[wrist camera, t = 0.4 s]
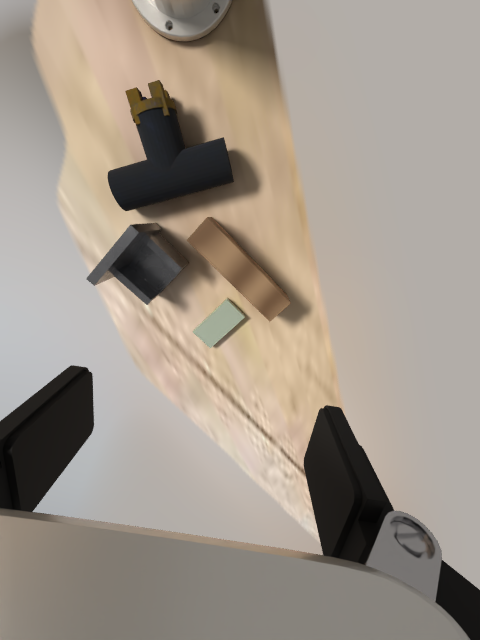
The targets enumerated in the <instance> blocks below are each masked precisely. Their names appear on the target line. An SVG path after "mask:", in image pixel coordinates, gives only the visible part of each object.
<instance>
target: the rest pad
mask: <svg viewBox="0 0 480 640" xmlns="http://www.w3.org/2000/svg"><path fill="white" fill-rule="evenodd" d="M244 318H245V314H244V313H243V312H241V311H240V310H239V309H238V308H237V307H236V306H235V305H234V304H233V303H232V302H231V301H230V300H229V299H228V298H227V299H226V300H225V301H224V302H223V303H222V304H221V305H220V306H219V307H218V308H217V309H215V310H214V311H213V312H212V313H211V314H210V315H209V316H208V317H207V318H206V319H205V320H204V321H203V322H202V323H201V324H200V325H199V326H198V327H196V328H195V329H194V331H193V333H194V334H195V335H196V336H197V337H199V338H200V339H201V340H202V341H203V342H204V343H205V344H206V345H207V346H209V347H210V348H211V347H212V346H214V345H215V344H216V343H217V342H218V341H219V340H220V339H221V338H222V337H224V336H225V335H226V334H227V333H228V332H229V331H230V330H231V329H232V328H234V327H235V326H236V325H237V324H238V323H239V322H240V321H241V320H242V319H244Z"/></svg>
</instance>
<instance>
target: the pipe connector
mask: <svg viewBox="0 0 480 640" xmlns="http://www.w3.org/2000/svg"><path fill="white" fill-rule="evenodd" d="M148 86H149V90H150V93H151V96H152V98H149V99H147V98H146V97H142V94H141V92H140V91H139V90H138V88H137V87H136V88H133V89H130V90H127V91H126V95H127V98H128V101H129V104H130V107H131V115H132V118H133V121H134V123H136V126H137V129H138V132H139V135H140V139H141V142H142V145H143V148H144V151H145V154H146V157H147V160H145V161H141V162H138V163H134V164H131V165H127V166H124V167H121V168H117V169H114V170H110V171H109V172H108V182H109V186H110V189H111V192H112V194H113V196H114V198H115V200H116V201H117V203H118V204H119V206H120V207H121V208H122V209H123V210H125V211H129V210H133V209H136V208H140V207H144V206H147V205H151V204H155V203H158V202H162V201H166V200H169V199H173V198H177V197H180V196H184V195H188V194H191V193H195V192H199V191H202V190H206V189H210V188H213V187H217V186H221V185H224V184H228V183H232V182H234V180H233V175H232V170H231V166H230V161H229V157H228V152H227V148H226V144H225V140H224V137H223V138H220V139H216V140H213V141H209V142H206V143H203V144H199V145H196V146H192V147H189V148H186V149H185V145H184V142H183V138H182V134H181V131H180V127H179V123H178V119H177V116H176V114H177V111H176V107H175V104H174V101H173V100H172V99H170V96H169V94H168V92H167V91H166V90H164V88H163V85H162V83H161V82H160V81H159V80H158V81H155V82H152V83H148Z"/></svg>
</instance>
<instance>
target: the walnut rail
mask: <svg viewBox="0 0 480 640" xmlns="http://www.w3.org/2000/svg"><path fill="white" fill-rule="evenodd" d="M187 241H188V242H189V243H190V244H191V245H192V246H193V247H194V248H195V249H196V250H197V251H198V252H199V253H200V254H201V255H202V256H203V257H204V258H205V259H206V260H207V261H208V262H209V263H210V264H211V265H212V266H213V267H214V268H215V269H217V270H218V271H219V272H220V273H221V274H222V275H223V276H224V277H225V278H226V279H227V280H228V281H229V282H230V283H231V284H232V285H233V286H234V287H235V288H236V289H237V290H238V291H239V292H240V293H241V294H242V295H243V296H244V297H245V298H246V299H247V300H248V301H249V302H250V303H251V304H252V305H253V306H254V307H255V308H256V309H257V310H259V311H260V312H261V313H262V314H263V315H264V316H265V317H266V318H267V319H268V320H269V321H271V320H272V319H274V318H275V317H276V316H277V315H278V314H279V313H280V312H281V311H283V310H284V309H285V308H286V307H287V306H288V305H289V304H290V303H291V302H290V300H289V298H288V296H287V294H286V293H285V292H284V291H283V290H282V289H281V288H280V287H279V286H278V285H277V284H276V283H275V282H274V281H273V280H272V279H271V278H270V277H269V276H268V275H267V274H266V272H265V271H264V270H263V269H262V268H261V267H260V266H259V265H258V264H257V263H256V262H255V261H254V260H253V259H252V258H251V257H250V256H249V255H248V254H247V253H246V252H245V251H244V250H243V249H242V248H241V247H240V246H239V245H238V244H237V243H236V242H235V240H234V239H233V238H232V237H231V236H230V235H229V234H228V233H227V232H226V231H225V230H224V229H223V228H222V227H221V226H220V225H219V224H218V223H217V222H216V221H215V220H214V219H213V218H212V217H207V218H206V219H205V220H204V222H203V223H202V224H201V225H200V226H199V227H198V228H197V229H196V231H195V232H194V233H193V234H192V235H191V236H190V237H189V238H188V240H187Z"/></svg>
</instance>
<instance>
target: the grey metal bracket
mask: <svg viewBox="0 0 480 640" xmlns="http://www.w3.org/2000/svg"><path fill="white" fill-rule="evenodd" d="M161 230H162V228H161V227H159V226H158V225H157V224H156V223H147V224H134V225H130V226H129V227H128V228H127V230H126V231H125V232H124V233H123V235H122V236H121V237H120V238H119V239H118V241H117V242H116V243H115V244H114V246H113V247H112V248H111V249H110V250H109V252H108V253H107V254H106V255H105V257H104V258H103V259H102V260H101V261H100V263H99V264H98V265H97V266H96V268H95V269H94V270H93V271H92V272H91V274H90V275H89V276H88V277H87V280H88V281H89V282H91V283H92V284H93V285H94V286H95V285H97V284H99V283H101V282H104V281H106V280H108V279H110V278H112V277H116V278H117V279H118V280H119V281H120V282H121V283H123V284H124V285H125V286H126V287H127V288H128V289H129V290H131V291H132V292H133V293H134V294H135V295H136V296H137V297H138V298H140V299H141V300H142V301H143V302H144V303H145V304H146V305H148V304H149V303H150V302H151V301H152V300H153V299H155V298H156V297H157V296H158V295H159V294H160V293H161V292H162V291H163V290H164V289H165V288H166V286H167V285H168V284H169V283H170V282H171V281H172V280H173V279H174V278H175V277H176V276H177V275H178V274H179V273H180V272H181V271H182V270H183V269H184V267H185V266H186V265H187V264H188V263H189V262H188V261H187V260H186V259H185V258H184V257H183V256H182V255H181V254H180V253H179V252H178V251H177V250H176V249H175V248H174V247H173V246H172V245H171V244H170V243H169V242H168V241H167V240H166V239H165V238H164V237H163V236H162V235H161V234H160V233H159V232H160V231H161Z"/></svg>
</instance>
